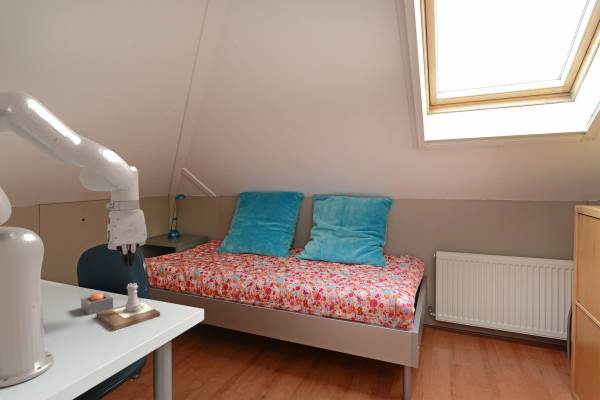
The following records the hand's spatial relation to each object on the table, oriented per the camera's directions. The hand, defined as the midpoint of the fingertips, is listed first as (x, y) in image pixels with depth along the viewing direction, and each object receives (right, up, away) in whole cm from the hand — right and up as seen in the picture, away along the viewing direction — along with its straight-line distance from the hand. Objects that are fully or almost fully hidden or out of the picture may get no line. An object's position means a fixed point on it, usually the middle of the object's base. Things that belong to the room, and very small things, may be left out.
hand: (128, 265), depth 105 cm
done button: (-12, -12, +5) cm, 18 cm away
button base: (-12, -15, +5) cm, 20 cm away
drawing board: (+1, -15, -2) cm, 15 cm away
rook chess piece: (+1, -14, 0) cm, 14 cm away
